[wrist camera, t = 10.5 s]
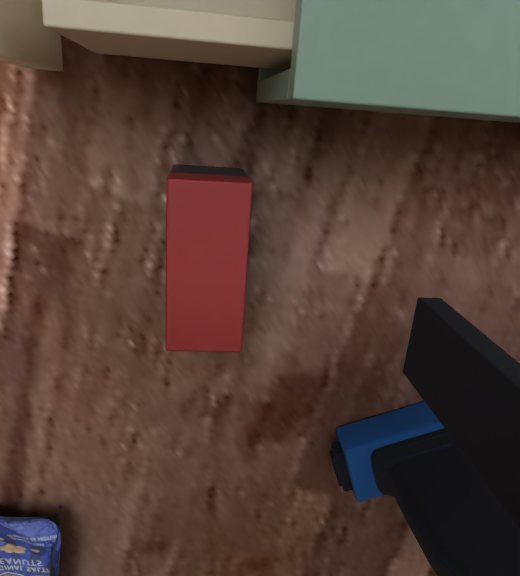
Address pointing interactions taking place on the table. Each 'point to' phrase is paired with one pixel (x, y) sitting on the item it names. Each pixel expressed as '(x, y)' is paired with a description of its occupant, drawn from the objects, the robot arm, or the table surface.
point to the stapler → (206, 257)
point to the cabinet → (403, 58)
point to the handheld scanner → (429, 490)
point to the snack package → (30, 545)
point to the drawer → (150, 30)
